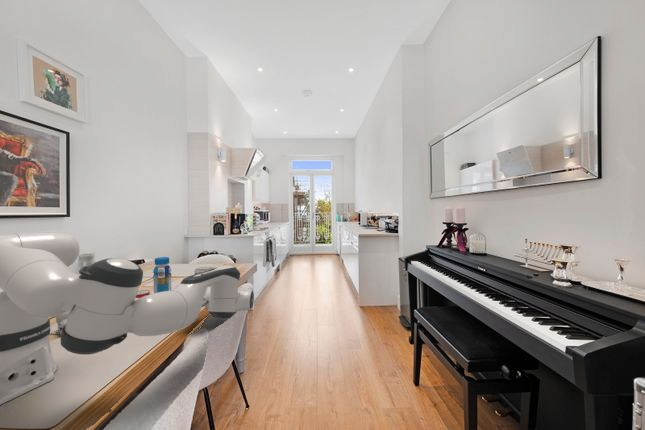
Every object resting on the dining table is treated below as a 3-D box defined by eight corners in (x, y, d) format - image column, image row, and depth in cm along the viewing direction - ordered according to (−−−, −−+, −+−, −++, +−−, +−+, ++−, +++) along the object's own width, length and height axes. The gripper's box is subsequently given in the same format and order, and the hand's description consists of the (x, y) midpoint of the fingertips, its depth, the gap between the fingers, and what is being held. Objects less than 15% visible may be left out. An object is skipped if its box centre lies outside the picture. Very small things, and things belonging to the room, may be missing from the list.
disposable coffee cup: (195, 293, 150) (195, 265, 150) (216, 291, 153) (216, 264, 153) (192, 299, 140) (192, 269, 140) (215, 296, 143) (215, 268, 143)
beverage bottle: (149, 297, 143) (148, 259, 143) (163, 292, 151) (162, 256, 151) (162, 298, 141) (161, 259, 141) (175, 293, 149) (174, 256, 149)
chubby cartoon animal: (51, 345, 98) (46, 327, 95) (62, 321, 108) (57, 304, 105) (77, 340, 101) (73, 322, 98) (85, 318, 111) (82, 301, 108)
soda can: (143, 325, 108) (142, 295, 108) (126, 324, 109) (126, 294, 109) (156, 318, 115) (155, 289, 115) (140, 317, 116) (140, 289, 116)
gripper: (199, 316, 99) (163, 314, 101) (226, 298, 119) (196, 297, 121) (199, 298, 99) (163, 297, 101) (226, 284, 119) (196, 283, 121)
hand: (181, 297), depth 111 cm, fingers closed
